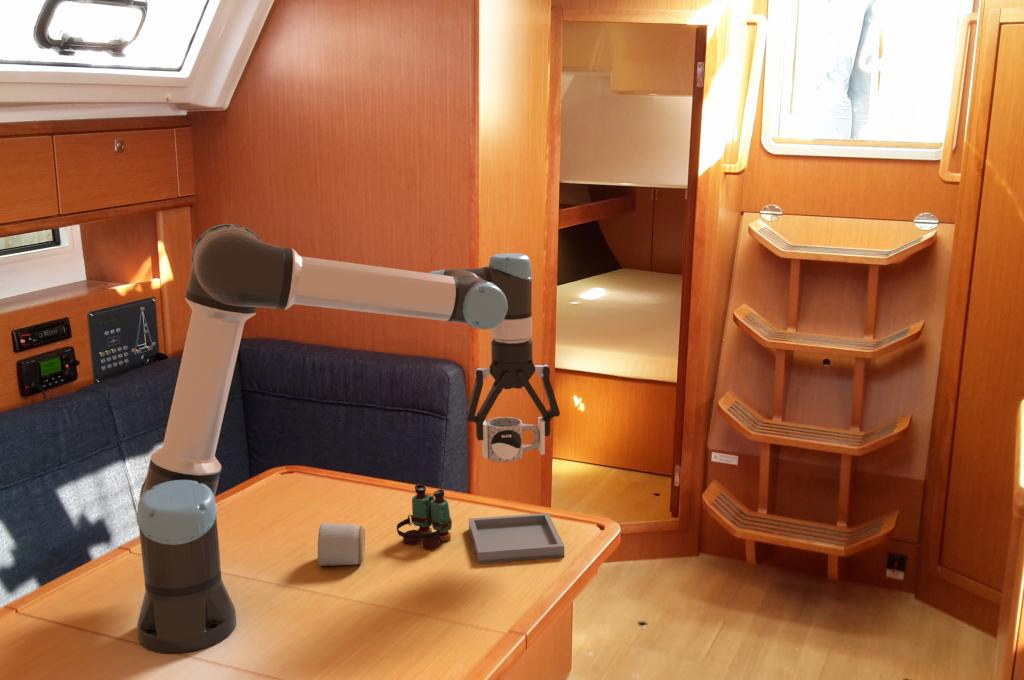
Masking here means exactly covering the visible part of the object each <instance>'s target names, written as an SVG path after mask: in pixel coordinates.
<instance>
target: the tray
mask: <svg viewBox="0 0 1024 680" xmlns="http://www.w3.org/2000/svg"><path fill="white" fill-rule="evenodd" d="M468 530H469V534H470V539H471V541H472V546H473V549H474V553H475V556H476V559H477V564H479V565H480V564H489V563H490V564H491V563H502V562H503V563H506V562H516V561H517V562H518V561H531V560H543V559H545V560H546V559H555V558H556V559H557V558H565V545H564V542H563V540H562V537H561V536H560V534H559V532H558V530H557V527H556V526H555V524H554V521H553V519H552V517H551V515H550V513H549V512H544V513H531V514H530V513H528V514H517V515H516V514H514V515H501V516H488V517H474V518H468Z"/></svg>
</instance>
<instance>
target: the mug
mask: <svg viewBox="0 0 1024 680" xmlns="http://www.w3.org/2000/svg"><path fill="white" fill-rule="evenodd" d="M486 423H487V430H488V458H487V459H488V460H489V461H491V462H495V463H512V462H517V461H519V460H521V459H522V458H523V457H524V456H523V455H524V454H523V453H525V452H529V451H532V450H535V449H537V448H538V445H539V429H538V425H536V424H532V423H531V424H530V423H529V424H528V423H523V421H522V420H521V419H520V418H517V417H509V416H505V417H504V416H501V417H494V418H490V419H488V420H487V421H486ZM524 431H525V432H526V431H532V432H533V436H534V437H533V442H532V443H531V444H523V432H524Z"/></svg>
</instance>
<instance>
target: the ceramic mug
mask: <svg viewBox="0 0 1024 680" xmlns="http://www.w3.org/2000/svg"><path fill="white" fill-rule="evenodd" d="M317 535H318V538H317V563H318V566H320V567H324V566H325V567H328V566H329V567H330V566H331V567H332V566H355V565H360V564H362V563H363V562H364V559H365V551H366V530H365V528H364V526H362V525H358V524H351V523H350V524H347V523H346V524H345V523H343V524H342V523H327V522H326V523H325V522H322V523H321V524H320V525H319V530H318V534H317Z"/></svg>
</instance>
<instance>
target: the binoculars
mask: <svg viewBox="0 0 1024 680" xmlns="http://www.w3.org/2000/svg"><path fill="white" fill-rule="evenodd" d="M414 491H415V492H414V493H416V494H415V495H414V496H412V497H411V506H412V507H411V509H412V512H411V513H412V514H408V515H407V518H406V519H404V520H402V521H400V522H398V523H397V525H396V533H397V534H398V536H400V537H402V541H403V543H404V545H405V546H406V545H408V546H415V545H417V544H419V543H420V542H421V546H422V549H423V550H425V551H426V550H427V551H430V550H434V549H435V548H438V546H439V545H440V541H441V542H442V541H449V540H451V539H452V536H451V532H450V531H451V530H452V528H453V527H452V524H453V521H452V518H451V514H450V512H451V511H450V506H449V501H448V500H447V499H446V498H445V497H444V496H445V489H444V488H441V489H438V490H436V491H434V492H433V493H432V494H433V495H431V494H426V491H427V487H426V485H424V484H421V483H420V484H419V483H417V484H415V486H414ZM412 524H413V526H416V527H419V528H418V529H411V530H407V531H405V532H404V531H401V530H400V529H401V528H402V527H403V526H405V525H408V526H411V525H412ZM431 526H432V527H431ZM432 529H433V530H434V531H432Z"/></svg>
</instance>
